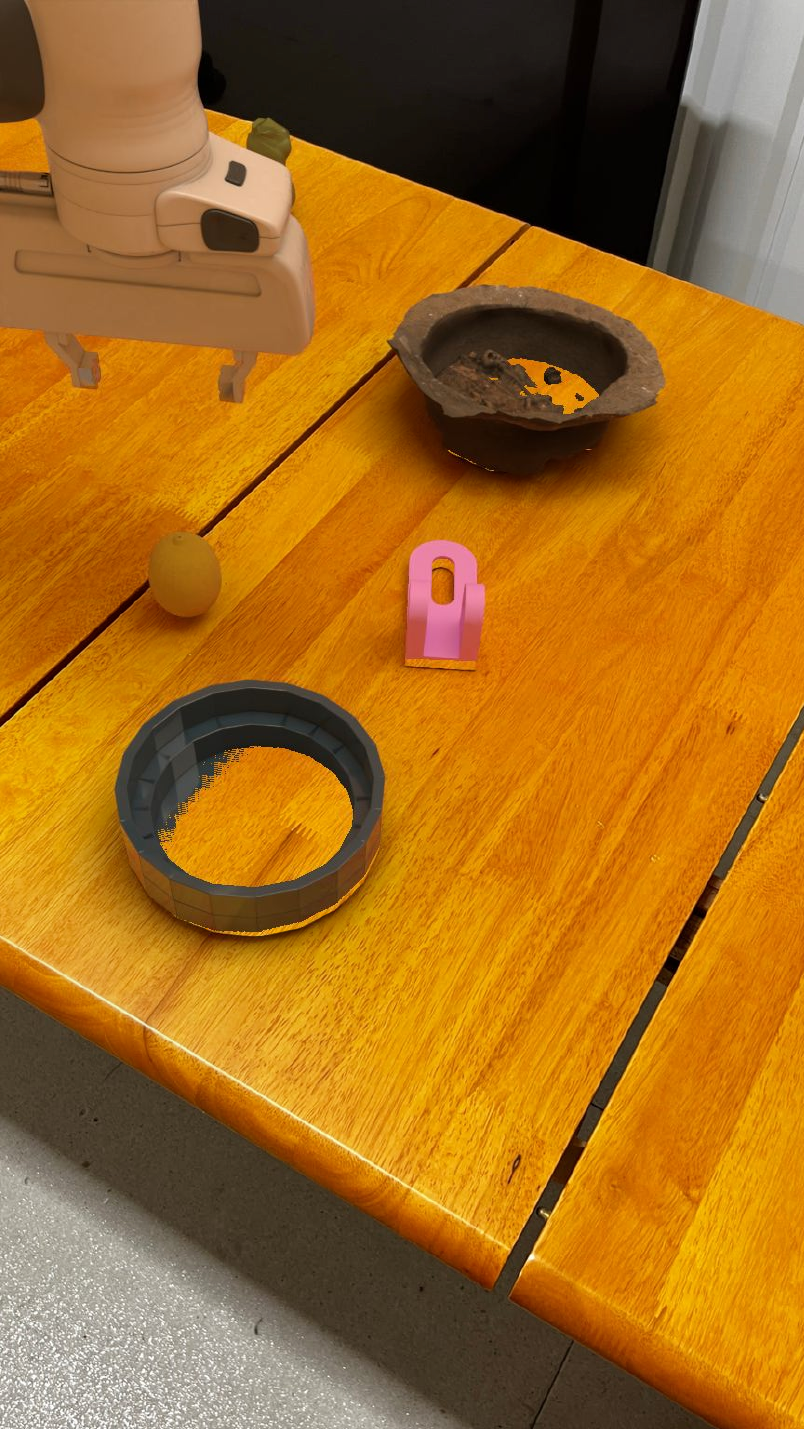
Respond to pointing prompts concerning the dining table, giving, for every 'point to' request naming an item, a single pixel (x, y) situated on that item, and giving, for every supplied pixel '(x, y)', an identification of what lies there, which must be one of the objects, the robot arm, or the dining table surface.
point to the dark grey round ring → (194, 734)
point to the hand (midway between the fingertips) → (160, 390)
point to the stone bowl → (522, 372)
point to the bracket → (444, 606)
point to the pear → (270, 142)
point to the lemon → (184, 574)
